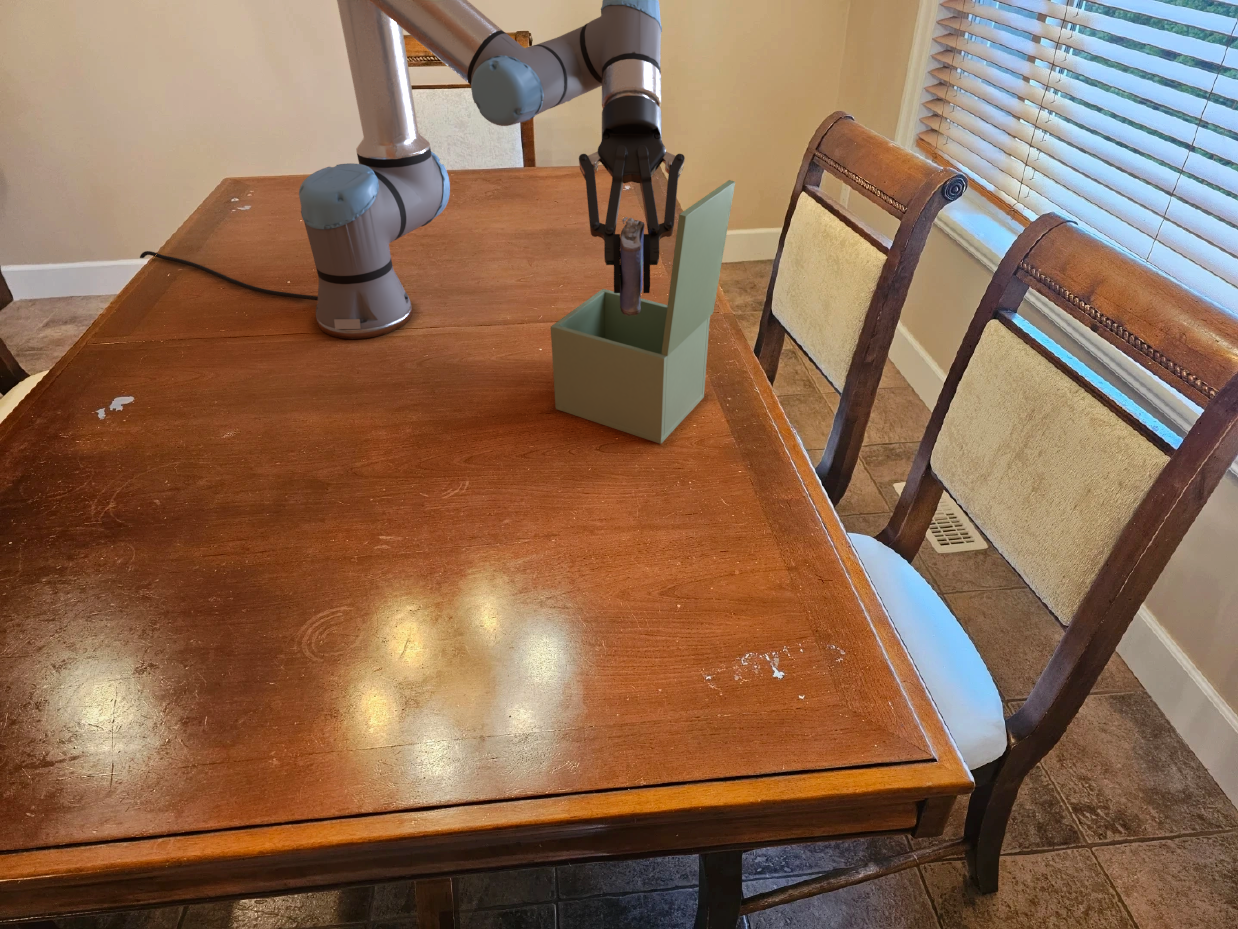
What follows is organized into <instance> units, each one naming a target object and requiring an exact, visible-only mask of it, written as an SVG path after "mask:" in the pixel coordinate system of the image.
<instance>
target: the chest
mask: <svg viewBox="0 0 1238 929" xmlns="http://www.w3.org/2000/svg"><path fill="white" fill-rule="evenodd" d="M640 300H641V304H640V306H641V310H640V313H638V314H637V315H636V316H635V315H631V314H629V313H628V312H627V313H628V314H629V315H631V316H627V315H624V314H623V313H622V311H621V308H620V293H614V290H609V289H606V288H602V289H600V290H599V291H597V292H596V293H595V294H593V295H592V296H590V297H589V298H588V299H586V300H585V301H584V302H582V303H581V304H579V306H576V307H575V308H574V309H573V310H571V311H570V312H569V313H567V314H566V315H564V316H562V317H561V318H560V319H559V320H557V321H556V322H554V324H552V325H551V326H550V338H551V340H550V341H551V356H552V370H553V372H552V373H553V385H554V386H553V390H554V404H555V405H554V406H555V410H557V411H560V412H564V413H566V414H570V415H571V416H572V415H573V416H576V417H578V418H581V419H585V420H588V421H591V422H592V423H593V422H594V423H596V424H600V425H602V426H606V427H607V428H611V429H615V430H617V431H621V432H623V433H627V434H630V435H632V436H636V437H638V438H641V439H645V440H646V441H651V442H654V443H656V444H659V445H662V444H663V443H664V441H665V440H666V439H667V438H668V437H669V436H670V435H671V434H672V433H673V432H674V431H675V429H676V428H677V427H678V426H679V425H680V424H681V423H682V422H683V421H684V420H685V418H687V417H688V416H689V414H691V412H692V411H693V410H694V409H695V408H696V407H697V406H698V404H699V403H700V402H701V401H702V400H703V399H704V398H705V389H706V388H705V387H706V377H707V376H706V374H707V361H708V347H709V334H710V322H711V316H710V317H709V318H708V319H707V320H705V321H704V322H703V323H702V324H701V325H700V326H699V327H698V328H697V329H696V330H695V331H694V332H693V333H692V334H691V335H689V336H688V337H687V338H686V339H685V340H684V341H683V342H682V343H681V344H680V345H679V346H678V347H677V348H676V349H675V350H674V351H672V352H671V353H670V354H669V355H668V356H665V355H663V354H662V346H663V338H664V330H665V322H666V314H667V306H668V304H664V303H662V302H661V303H660V302H657V301H653V300H649V299H646V298H642V297H640Z"/></svg>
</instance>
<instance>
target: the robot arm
mask: <svg viewBox="0 0 1238 929" xmlns="http://www.w3.org/2000/svg"><path fill="white" fill-rule="evenodd" d="M601 2H602V3H601V8H600V16H599V17H596V18H594V19H592V20H590V21H589V22H588V23H585V24H584V25H583V26H580V27H577V28H576V29H573V30H571V31H568V32H567V33H564V34H561V35H559V36H557V37H555V38H551V39H549V40H545V41H543V42H539V43H536V44H533V45H531V46H527V47H524V46H523V45H521V44H520V43H519V42H518V41H516V40H515V39H514V38H513V37H511V36H510V35H509V34H508V33H507V32H505V31H504V30H503V29H502V28H500V27H499V26H498V25H497V24H496V23H495V22H493V20H491V19H490V18H489V17H488V16H486V15H485V14H484V13H483V12H482V11H480V10H479V9H478V8H476V6H474V4H472V3H471V2H470V1H468V0H336V3H337V8H338V13H339V19H340V24H341V30H342V33H343V38H344V43H345V44H344V45H345V50H346V54H347V58H348V65H349V70H350V74H351V80H352V85H353V89H354V95H355V98H356V99H355V100H356V105H357V110H358V115H359V120H360V125H361V131H362V137H363V138H362V139H361V140H360V143H359V144H358V145H357V147H356V157H357V161H358V163H355V162H354V163H353V162H351V163H340V164H339V163H338V164H336V165H335V166H327V167H326V166H325V167H323V168H321V169H318V170H316V171H315V172H313V173H311V174H310V175H308V176H307V177H306V178H305V179H304V180H303V181H302V183H301V185H300V187H299V190H298V197H299V204H300V214H301V218H302V221H303V223H304V227H305V230H306V234H307V238H308V242H309V246H310V249H311V250H310V251H311V253H312V257H313V261H314V265H315V269H316V273H317V277H318V288H317V295H309V294H301V293H292V292H285V291H279V290H272V289H268V288H267V289H266V288H261V287H258V286H254V285H251V284H249V283H245V282H243V281H239V280H237V279H235V278H231V277H229V276H227V275H224V274H223V273H220V272H218V271H216V270H213V269H210V268H209V267H206V266H203V265H201V264H198V263H196V262H192V261H189V260H185V259H182V258H178V257H174V256H169V255H163V254H160V253H158V252H155V251H151V250H146V251H142V253H141V254H140V255H139V258H140V259H144V258H146V256H152V257H155V258H158V259H161V260H165V261H169V262H174V263H178V264H183V265H186V266H189V267H192V268H195V269H198V270H200V271H203V272H206V273H208V274H210V275H213V276H215V277H217V278H219V279H222V280H224V281H226V282H228V283H231V284H233V285H236V286H239V287H242V288H244V289H247V290H251V291H254V292H256V293H257V292H258V293H262V294H266V295H272V296H278V297H284V298H292V299H299V300H300V299H301V300H309V301H317V304H316V306H315V318H316V322H317V326H318V328H319V330H321V331H322V332H323V333H325V334H327V335H328V336H332V337H335V338H340V339H350V340H355V339H360V340H361V339H368V338H374V337H379V336H383V335H386V334H390V333H391V332H394V331H396V330H398V329H400V328H401V327H403V326H405V325H406V324H407V323H408V322H409V321H410V320H411V318H412V316H413V307H412V302H411V299H410V296H409V295H408V293H407V292H406V290H405V287H403V283H402V282H401V280H400V279H399V276H398V275H397V273H396V271H395V270H394V266H393V261H392V260H393V259H392V255H391V249H390V244H391V243H393V242H394V241H397V240H398V239H400V238H402V237H404V236H405V235H407V234H409V233H411V232H413V231H415V230H417V229H418V228H422V227H425V226H426V225H428V224H430V223H431V222H432V221H433V220H434V219H436V218H437V217H438V216H440V215H441V214H442V213H443V212H444V210H445V209H446V207H447V205H448V203H449V200H450V196H451V195H450V194H451V182H450V176H449V174H448V171H447V168H446V166H445V165H444V164H443V163H441V159H440V158H439V156H438V155H437V154H436V153H434V151H432V149H431V143H430V142H429V140H427V139H426V138H425V137H424V136H422V135H421V133H420V132H419V126H418V120H417V114H416V107H415V101H414V95H413V88H412V81H411V76H410V69H409V68H410V67H409V63H408V56H407V48H406V43H405V37H404V31H405V32H406V33H407V34H409V35H410V36H412V38H414V40H416V41H417V42H418V43H419V44H420V45H422V46H423V47H424V48H425V49H427V50H428V51H429V52H430V53H432V55H434V56H435V57H436V58H437V59H439V60H440V61H441V62H442V63H443V64H445V66H447V67H448V68H449V69H450V70H452V71H453V72H454V73H455V74H457V75H458V76H459V77H460V78H461V79H463V80H464V81H465V82H466V83H467V84H469V85H470V88H471V90H470V91H471V96H472V100H473V103H474V104H475V105H476V108H477V109H478V111H479V114H480V115H481V116H482V117H483V118H484V119H485V120H487V121H488V122H489V123H491V124H493V125H496V126H498V127H499V126H500V127H509V126H514V125H517V124H520V123H525V122H529V121H530V120H532V119H534V118H535V117H536V116H538V115H539V114H542V113H543V112H545V111H547V110H551V109H553V108H556V107H558V106H560V105H563V104H565V103H568V102H570V101H572V100H573V99H576V98H578V97H580V96H582V95H585V94H587V93H590V92H592V91H593V90H595V89H598V88H600V87H601V108H602V109H601V141H600V144H599V145H598V147H597V151H596V152H593V153H591V154H586V153H581V154H580V155H579V156H578V164H579V165H578V166H579V170H580V172H581V174H582V177H583V179H584V181H585V186H586V188H585V189H586V200H587V211H588V220H589V231H590V235H591V236H592V237H594V238H597V237H598V238H601V239H602V240H603V241H604V242H603V243H604V250H603V251H604V253H603V254H604V255H603V256H604V263H605V265H606V266H613V291H614V293H620V237H621V233H616V231H617V225H618V218H619V211H620V206H621V199H622V193H623V188H624V184H628V183H636V184H639V187H640V192H641V197H642V204H643V209H644V210H643V211H644V216H645V222H646V230H647V233H644V238H643V286H642V288H643V289H642V293H643V294H650V293H651V292H650V291H651V266H658V264H659V261H660V241H661V239H663V238H670V237H671V236H673V233H674V227H675V217H676V208H677V207H676V206H677V205H676V204H677V196H678V194H677V193H678V185H679V184H678V183H679V179H680V177H681V175H682V173H683V170H684V166H685V160H686V157H685V155H684V154H683V153H677V154H676V155H675V154H672V153H670V152H668V151H667V148H666V146H665V143H663V140H662V139H663V138H662V134H663V133H662V110H661V109H662V75H661V73H662V70H661V50H662V49H661V46H662V44H661V43H662V32H663V26H662V23H661V22H662V20H661V7H660V1H659V0H602V1H601ZM600 163H601V165H603V167H604V169H605V170H606V171H607V172H608V173H609V176H611V185H610V190H609V198H608V203H607V210H606V216H605V217H606V218H605V222H604V223H602V222H600V214H599V203H598V192H597V182H596V174H597V173H598V171H599V164H600ZM662 163H663V164H664V171H665V172H666V173H667V175H668V176H667V187H666V196H665V207H664V218H663V219H664V220H663V222H662V223H659V218H658V213H657V212H658V211H657V204H656V200H655V194H654V188H653V181H652V177H653V175H654V174H655V172H656V171H657V170H658V169H659V167H660V166H661V165H662ZM156 254H157V255H156ZM155 255H156V256H155Z"/></svg>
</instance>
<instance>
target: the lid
mask: <svg viewBox="0 0 1238 929" xmlns="http://www.w3.org/2000/svg"><path fill="white" fill-rule="evenodd" d="M735 186H736V181H734V180H731V179H728V180H727V181H725V182H724V183H722V184H721V185H719V186H718V187H717V188H715V189H713V190H712V191H711V192H709V193H707V195H705V196H704V197H702V198H700V200H698V201H696V202H695V203H693V204H692V205H691V206H689V207H688V208H686V209H685V210H683V211H681V213H679V214H678V219H677V229H676V236H675V237H676V238H675V245H674V252H673V260H672V266H671V277H670V284H669V290H668V300H667V305H668V306H667V314H666V322H665V330H664V338H663V346H662V354H663V355H665V356H668V355H669V354H670V353H671V352H672V351H674V350H675V349H676V348H677V347H678V346H679V345H680V344H681V343H682V342H683V341H684V340H685V339H686V338H687V337H688V336H689V335H691V334H692V333H693V332H694V331H695V330H696V329H697V328H698V327H699V326H700V325H701V324H702V323H703V322H704V321H705V320H707V319H708V318H709V317H710V318H711V316H712V315H713V314H714V310H715V305H716V300H717V292H718V287H719V283H720V282H719V281H720V275H721V269H722V263H723V257H724V251H725V246H726V241H727V235H728V234H727V233H728V228H729V223H730V222H729V221H730V216H731V211H732V205H733V199H734V193H735Z"/></svg>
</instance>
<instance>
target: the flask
mask: <svg viewBox="0 0 1238 929" xmlns="http://www.w3.org/2000/svg"><path fill="white" fill-rule="evenodd" d="M621 222H622V224H623V225H624V226H623V228H621V229H622V230H621V232H620V308H621V311H622V313H623V314H624V315H627V316H631V315H635V316H636V315H637V314H638V313H640V310H641V306H640V304H641V300H640V298H642V296H641V294H642V293H643V238H644V234H645V227H646V226H645V225H646V224H645V222H643V221H642V220H639V219H637V220H635V219H634V218H633V217H629V218H628V216H624V217H623V218H622V220H621ZM627 312H628V313H629V314H631V315H629V314H628V313H627Z"/></svg>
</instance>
